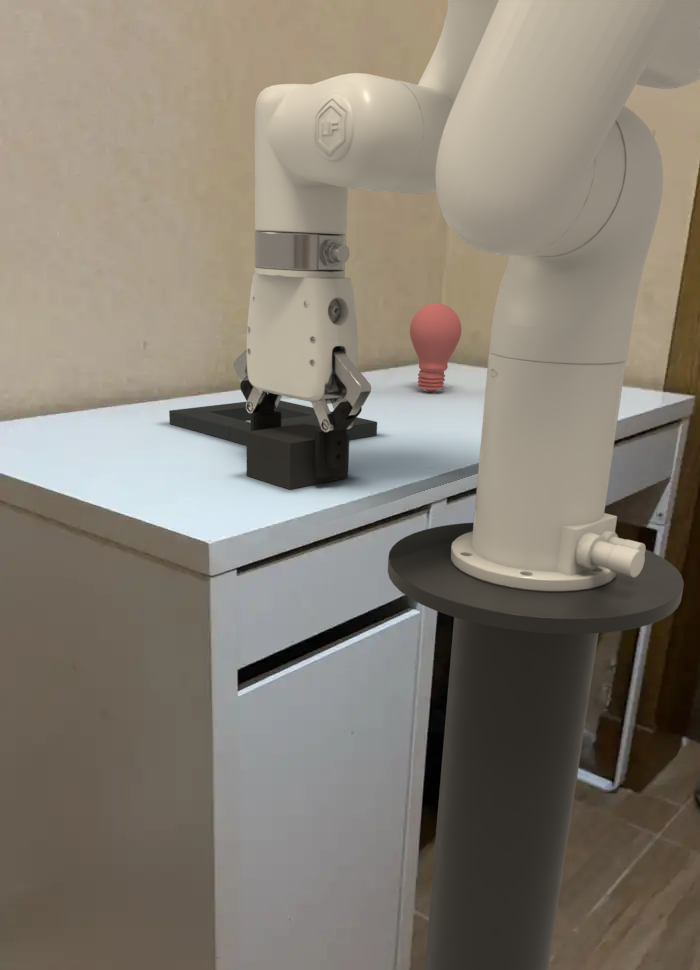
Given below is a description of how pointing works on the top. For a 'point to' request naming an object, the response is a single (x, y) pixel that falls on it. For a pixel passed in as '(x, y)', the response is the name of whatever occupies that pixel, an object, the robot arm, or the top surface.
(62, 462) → the top surface
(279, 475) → the black block
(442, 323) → the light bulb
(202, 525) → the top surface
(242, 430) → the base pad
